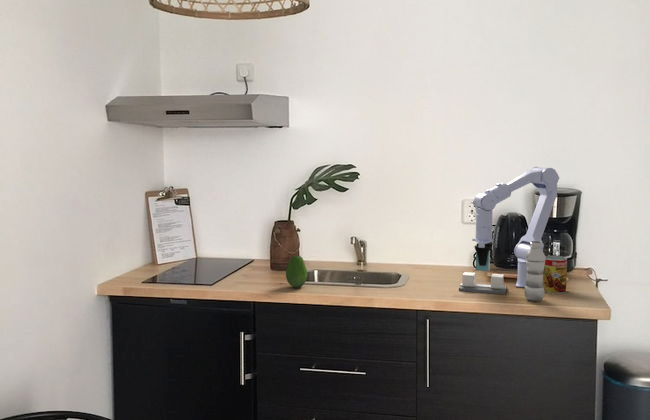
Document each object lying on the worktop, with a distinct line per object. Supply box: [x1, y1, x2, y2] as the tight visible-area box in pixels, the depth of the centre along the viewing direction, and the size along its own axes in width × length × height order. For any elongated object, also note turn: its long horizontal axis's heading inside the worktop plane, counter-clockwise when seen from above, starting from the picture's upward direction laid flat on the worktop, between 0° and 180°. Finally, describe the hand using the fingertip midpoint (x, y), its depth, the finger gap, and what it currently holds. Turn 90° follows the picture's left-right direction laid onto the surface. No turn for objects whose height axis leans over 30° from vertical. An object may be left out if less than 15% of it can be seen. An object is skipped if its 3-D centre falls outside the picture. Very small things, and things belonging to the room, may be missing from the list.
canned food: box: [543, 255, 568, 294], centre depth 224 cm, size 8×8×12 cm
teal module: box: [475, 249, 491, 272], centre depth 226 cm, size 4×4×7 cm
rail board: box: [458, 271, 508, 295], centre depth 227 cm, size 16×9×6 cm, turn 70°
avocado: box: [285, 255, 308, 289], centre depth 233 cm, size 8×8×12 cm
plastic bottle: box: [524, 241, 546, 302], centre depth 211 cm, size 6×7×20 cm
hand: (483, 264), depth 226 cm, fingers closed on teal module, 4 cm apart
